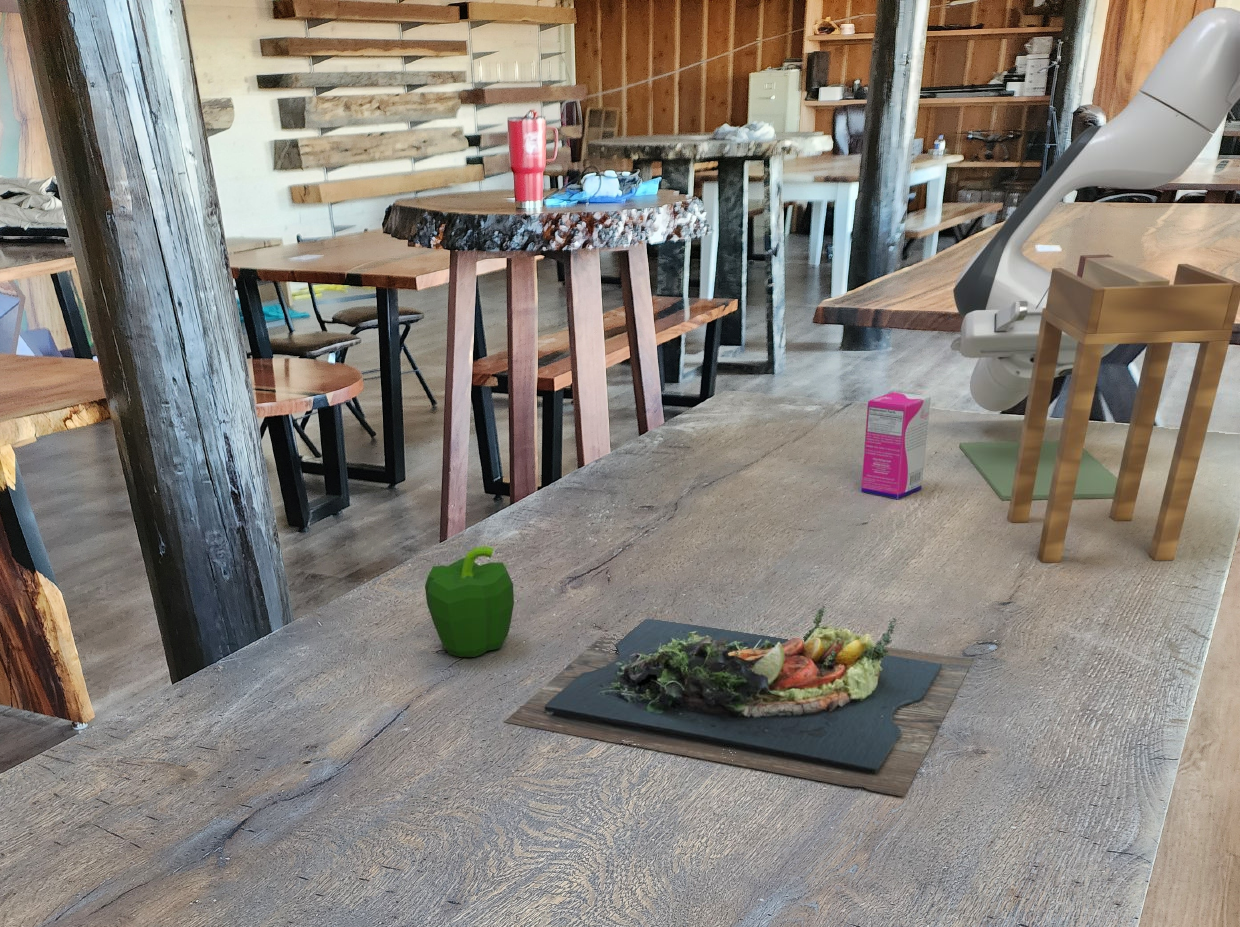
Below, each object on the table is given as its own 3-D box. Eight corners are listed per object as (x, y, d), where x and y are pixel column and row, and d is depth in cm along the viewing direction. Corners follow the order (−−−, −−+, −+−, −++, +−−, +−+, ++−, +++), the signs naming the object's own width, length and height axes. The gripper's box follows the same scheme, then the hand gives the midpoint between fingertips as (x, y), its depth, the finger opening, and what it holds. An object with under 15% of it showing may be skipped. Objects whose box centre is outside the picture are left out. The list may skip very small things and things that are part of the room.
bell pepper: (415, 659, 113) (403, 557, 108) (453, 628, 120) (444, 530, 114) (494, 670, 111) (486, 566, 105) (529, 637, 117) (523, 537, 111)
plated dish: (974, 656, 109) (986, 580, 105) (910, 804, 88) (921, 716, 84) (627, 613, 122) (624, 544, 118) (501, 733, 102) (493, 654, 97)
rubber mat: (1073, 443, 168) (1074, 439, 167) (1133, 497, 146) (1134, 492, 146) (959, 446, 169) (959, 442, 169) (1001, 500, 148) (1002, 495, 147)
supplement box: (883, 481, 156) (893, 389, 150) (922, 489, 152) (934, 395, 146) (858, 491, 153) (867, 398, 146) (897, 499, 149) (908, 404, 143)
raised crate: (1126, 515, 141) (1184, 261, 126) (1173, 560, 128) (1244, 283, 112) (1007, 517, 142) (1049, 266, 127) (1041, 562, 129) (1094, 288, 113)
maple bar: (1100, 294, 135) (1108, 253, 132) (1160, 324, 118) (1171, 279, 116) (1072, 295, 135) (1080, 254, 133) (1129, 325, 119) (1138, 280, 116)
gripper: (947, 326, 158) (974, 281, 144) (1104, 321, 156) (1146, 276, 143) (946, 374, 159) (973, 335, 145) (1102, 370, 157) (1144, 330, 143)
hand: (1061, 305), depth 144 cm, fingers open, 8 cm apart
